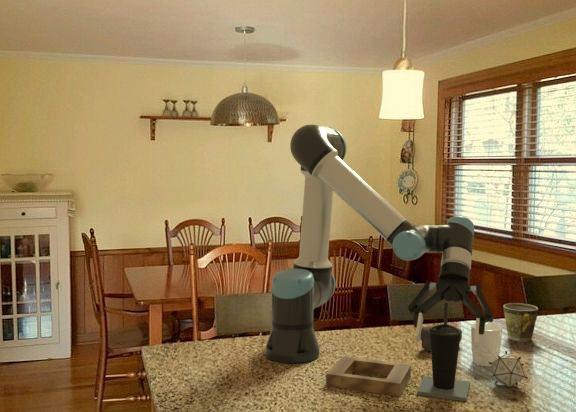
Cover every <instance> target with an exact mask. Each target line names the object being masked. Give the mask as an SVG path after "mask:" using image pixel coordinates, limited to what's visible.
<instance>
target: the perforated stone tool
mask: <svg viewBox="0 0 576 412" xmlns="http://www.w3.org/2000/svg"><path fill="white" fill-rule="evenodd" d="M430 327H431V326H424V327H423V326H422V330H421V337H420V342H421V347H422V349H423V350H424V351H427V352H431V340H430V332H429V328H430ZM462 338H463V334H461V336H460V342H461V341H462V340H463V339H462Z"/></svg>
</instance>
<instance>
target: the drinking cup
mask: <svg viewBox="0 0 576 412" xmlns="http://www.w3.org/2000/svg"><path fill="white" fill-rule="evenodd" d="M443 310H444V312H443V323H439V324H435V325H433V326H429V327H430V328H429V332H430V340H431V351H430V352H431V353H430V354H431V355H430V356H431V369H432V377H433V385H434V386H435V387H436V388H439V389H452V388H454V383H455V380H456V375H457V374H456V373H457V365H458V358H459V350H460V343H461V341H460V336H461V334H462V333H463V331H462V329H460V328H458V327H456V326H455V325H452V324H449V323H448V302H444V309H443ZM462 335H463V334H462Z"/></svg>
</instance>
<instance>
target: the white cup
mask: <svg viewBox="0 0 576 412" xmlns="http://www.w3.org/2000/svg"><path fill="white" fill-rule="evenodd" d="M475 328H476V322H475V323H473V324H471V325H470V330H471V331H470V334H471V335H470V336H471V337H470V339H471V341H470V342H471V343H470V344H471V354H472V357H471V359H472V363H474V364H475V365H476V366H481V367H487V368H488V367H489V368H490V367H491V368H492V365H491V364H489V363H488V362H491V363H492V362H494V361H495V360H497V359H498V356H500V353H501V347H502V346H501V343H502V331H503V329H502V328H503V327H502V326H500V325H499V324H495V323H491V322H486V323H485V331H484V334H483V335H482V334H479V343H478V348H475V346H474V338H475Z"/></svg>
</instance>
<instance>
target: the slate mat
mask: <svg viewBox="0 0 576 412" xmlns="http://www.w3.org/2000/svg"><path fill="white" fill-rule="evenodd" d="M470 386H471V381H468V380H460V379H455V383H454V388H452V389H439V388H436V387H435V386H434V385H433V376H431V375H430V376H428V375H424V376H423V379H422V380H421V383H420V385H419V387H418V389H417V391H416V392H417V393H416V395H417V396H425V397H432V398H438V399H439V398H440V399H447V400H453V401H460V402H461V401H462V402H467V398H468V396H469V392H470V391H469V390H470Z"/></svg>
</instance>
